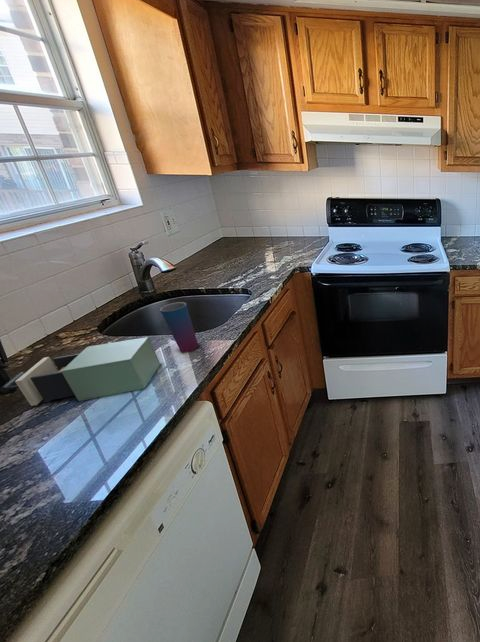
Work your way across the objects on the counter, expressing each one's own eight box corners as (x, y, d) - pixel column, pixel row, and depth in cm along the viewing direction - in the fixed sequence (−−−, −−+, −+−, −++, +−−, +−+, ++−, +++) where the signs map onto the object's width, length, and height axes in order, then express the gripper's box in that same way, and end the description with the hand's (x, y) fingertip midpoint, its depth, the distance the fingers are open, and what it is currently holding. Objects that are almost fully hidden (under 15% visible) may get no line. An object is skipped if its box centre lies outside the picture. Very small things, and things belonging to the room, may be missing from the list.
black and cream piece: (4, 411, 91) (-14, 386, 88) (33, 385, 101) (18, 361, 98) (95, 393, 97) (82, 369, 93) (115, 370, 106) (103, 347, 103)
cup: (173, 349, 118) (155, 308, 112) (195, 340, 123) (180, 300, 117) (182, 355, 114) (165, 313, 108) (205, 346, 119) (190, 304, 113)
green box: (78, 401, 95) (60, 371, 91) (102, 374, 106) (87, 346, 102) (144, 388, 100) (130, 359, 96) (160, 364, 110) (148, 336, 106)
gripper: (-49, 320, 80) (9, 404, 91) (-6, 298, 92) (42, 375, 102) (-96, 327, 78) (-31, 412, 88) (-46, 303, 89) (7, 381, 99)
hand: (8, 392), depth 95 cm, fingers closed
